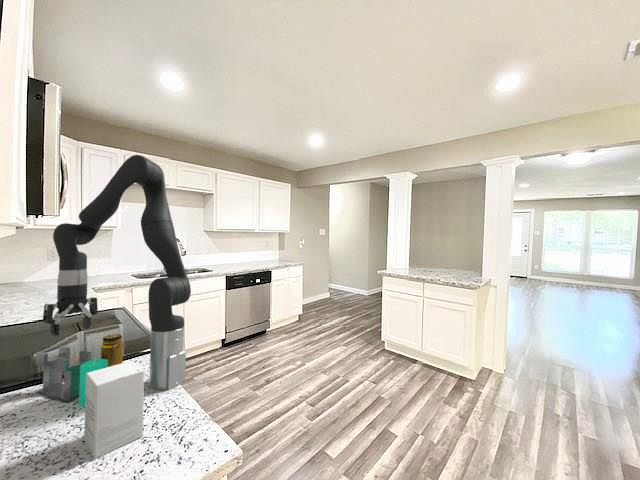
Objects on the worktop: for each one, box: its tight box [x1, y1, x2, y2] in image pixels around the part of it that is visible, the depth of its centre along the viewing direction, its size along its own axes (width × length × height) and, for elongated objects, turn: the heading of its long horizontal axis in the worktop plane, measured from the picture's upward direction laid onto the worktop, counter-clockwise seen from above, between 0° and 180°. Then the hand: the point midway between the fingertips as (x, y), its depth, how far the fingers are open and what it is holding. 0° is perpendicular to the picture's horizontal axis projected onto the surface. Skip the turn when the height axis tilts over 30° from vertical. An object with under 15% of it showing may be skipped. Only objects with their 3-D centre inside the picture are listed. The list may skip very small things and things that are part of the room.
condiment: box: [100, 333, 124, 367], centre depth 96 cm, size 7×8×12 cm
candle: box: [78, 356, 108, 408], centre depth 77 cm, size 6×6×12 cm
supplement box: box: [83, 360, 145, 459], centre depth 62 cm, size 9×9×15 cm
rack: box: [35, 345, 92, 404], centre depth 81 cm, size 14×6×12 cm, turn 69°
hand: (71, 331), depth 93 cm, fingers open, 8 cm apart
